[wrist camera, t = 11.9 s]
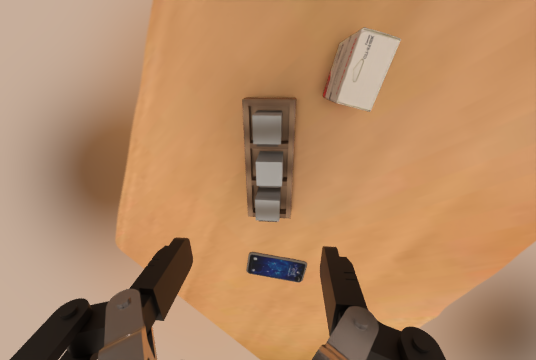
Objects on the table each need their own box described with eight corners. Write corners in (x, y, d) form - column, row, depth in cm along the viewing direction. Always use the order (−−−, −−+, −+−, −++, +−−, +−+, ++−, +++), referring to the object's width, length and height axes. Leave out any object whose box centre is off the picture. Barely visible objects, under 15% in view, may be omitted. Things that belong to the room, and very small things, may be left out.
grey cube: (259, 151, 42) (255, 161, 37) (283, 151, 42) (282, 162, 37) (260, 175, 45) (256, 188, 39) (282, 175, 44) (282, 189, 39)
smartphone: (249, 252, 55) (308, 263, 55) (249, 249, 56) (307, 260, 56) (245, 273, 58) (301, 283, 58) (246, 270, 59) (301, 280, 59)
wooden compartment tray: (245, 97, 40) (237, 101, 33) (295, 97, 39) (296, 102, 32) (250, 207, 50) (244, 228, 43) (290, 209, 49) (290, 230, 42)
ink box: (348, 103, 39) (371, 113, 28) (321, 96, 39) (334, 103, 28) (369, 49, 35) (403, 36, 25) (339, 41, 35) (361, 25, 24)
